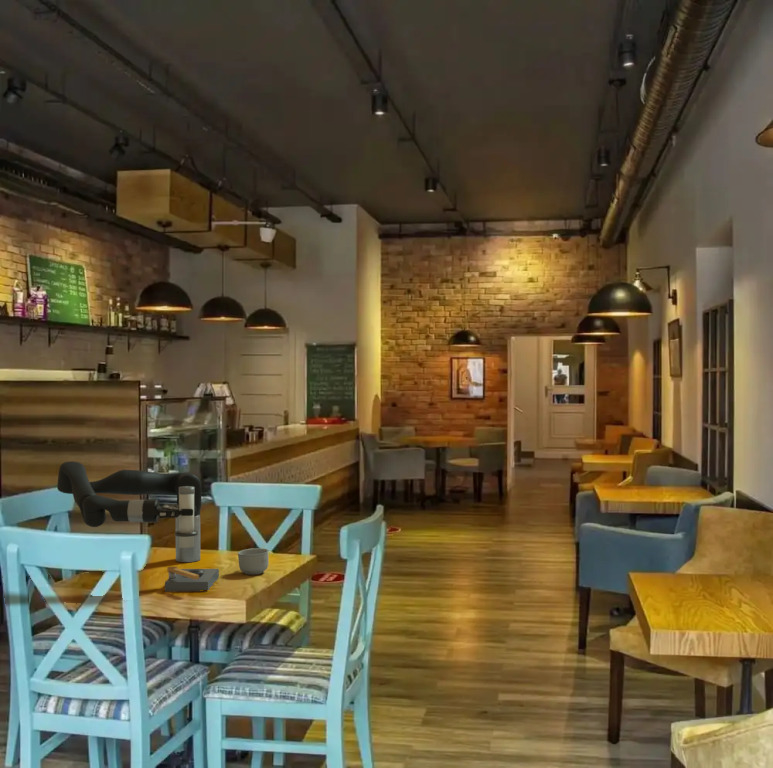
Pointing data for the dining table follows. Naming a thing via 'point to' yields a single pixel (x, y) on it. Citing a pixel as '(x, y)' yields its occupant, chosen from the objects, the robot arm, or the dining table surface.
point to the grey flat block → (192, 580)
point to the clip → (183, 572)
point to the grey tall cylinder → (186, 518)
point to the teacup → (253, 560)
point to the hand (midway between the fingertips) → (194, 510)
